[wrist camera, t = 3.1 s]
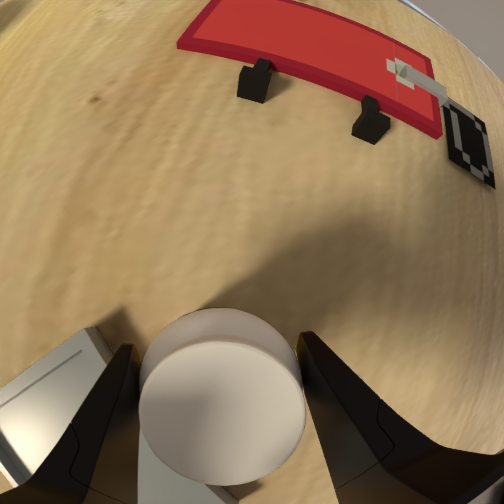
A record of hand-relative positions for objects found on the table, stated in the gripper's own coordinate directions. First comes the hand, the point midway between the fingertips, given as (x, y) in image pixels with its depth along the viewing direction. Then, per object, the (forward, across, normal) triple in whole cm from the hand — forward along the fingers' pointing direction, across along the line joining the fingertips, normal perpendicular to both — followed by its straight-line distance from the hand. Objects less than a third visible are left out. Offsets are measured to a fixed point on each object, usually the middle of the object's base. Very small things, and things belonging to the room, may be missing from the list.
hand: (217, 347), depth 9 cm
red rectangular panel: (+19, -13, -8) cm, 24 cm away
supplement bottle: (+4, 0, +6) cm, 7 cm away
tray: (-2, +9, +11) cm, 15 cm away
